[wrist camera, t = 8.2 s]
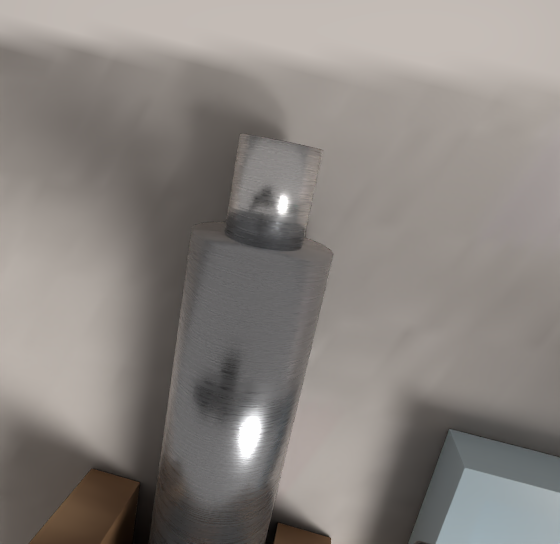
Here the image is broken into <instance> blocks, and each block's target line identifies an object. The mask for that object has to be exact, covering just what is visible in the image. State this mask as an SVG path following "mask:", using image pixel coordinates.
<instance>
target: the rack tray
mask: <svg viewBox="0 0 560 544" xmlns="http://www.w3.org/2000/svg"><path fill="white" fill-rule="evenodd" d="M416 541H423V542H427V543H430V544H560V457H557V456H553V455H549V454H545V453H541V452H537V451H533V450H529V449H526V448H522V447H518V446H514V445H510V444H506V443H502V442H498V441H494V440H491V439H487V438H483V437H479V436H475V435H471V434H467V433H463V432H460V431H456V430H452V429H449V431H448V434H447V437H446V440H445V442H444V445H443V448H442V451H441V453H440V456H439V459H438V462H437V465H436V467H435V470H434V473H433V476H432V478H431V481H430V484H429V487H428V489H427V492H426V495H425V498H424V501H423V503H422V506H421V509H420V512H419V514H418V517H417V520H416V523H415V526H414V528H413V531H412V534H411V537H410V539H409V542H408V544H414V543H415V542H416Z"/></svg>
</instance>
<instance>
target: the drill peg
mask: <svg viewBox="0 0 560 544" xmlns="http://www.w3.org/2000/svg"><path fill="white" fill-rule="evenodd" d="M322 153H323V150H321V149H317V148H313V147H309V146H304V145H300V144H295V143H291V142H286V141H281V140H276V139H271V138H266V137H260V136H255V135H249V134H243V133H240V137H239V143H238V150H237V156H236V162H235V169H234V175H233V181H232V187H231V194H230V200H229V206H228V212H227V219H226V222H205V223H199V224H196V225H194V226H193V227H192V230H191V237H190V244H189V252H188V259H187V266H186V274H185V281H184V288H183V295H182V303H181V310H180V317H179V325H178V332H177V339H176V347H175V354H174V361H173V369H172V376H171V383H170V391H169V398H168V405H167V413H166V420H165V427H164V434H163V442H162V449H161V456H160V464H159V471H158V478H157V486H156V493H155V500H154V508H153V515H152V522H151V530H150V537H149V544H265V541H266V537H267V532H268V528H269V524H270V520H271V516H272V511H273V507H274V503H275V499H276V494H277V490H278V486H279V482H280V478H281V473H282V469H283V465H284V461H285V457H286V452H287V448H288V444H289V440H290V435H291V431H292V427H293V423H294V419H295V414H296V410H297V406H298V402H299V397H300V393H301V389H302V385H303V381H304V376H305V372H306V368H307V364H308V359H309V355H310V351H311V347H312V343H313V338H314V334H315V330H316V326H317V322H318V317H319V313H320V309H321V305H322V300H323V296H324V292H325V288H326V284H327V279H328V275H329V271H330V267H331V262H332V258H333V252H332V251H331V250H330V249H329V248H327V247H326V246H324V245H322V244H320V243H318V242H316V241H313V240H311V239H308V238H305V232H306V227H307V223H308V218H309V213H310V209H311V204H312V199H313V195H314V190H315V185H316V181H317V176H318V171H319V167H320V162H321V157H322Z"/></svg>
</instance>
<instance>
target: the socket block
mask: <svg viewBox="0 0 560 544" xmlns="http://www.w3.org/2000/svg"><path fill="white" fill-rule="evenodd" d="M139 486H140V482H137V481H133V480H130V479H126V478H123V477H120V476H116V475H113V474H109V473H106V472H102V471H99V470H95V469H91V470H90V471H89V472H88V473H87V475H86V476H85V477H84V478H83V479H82V481H81V482H80V483H79V484H78V485H77V487H76V488H75V489H74V490H73V491H72V493H71V494H70V495H69V496H68V497H67V498H66V500H65V501H64V502H63V503H62V504H61V506H60V507H59V508H58V509H57V510H56V512H55V513H54V514H53V515H52V516H51V518H50V519H49V520H48V521H47V522H46V524H45V525H44V526H43V527H42V528H41V529H40V531H39V532H38V533H37V534H36V535H35V537H34V538H33V539H32V540H31V541H30V543H29V544H132V543H133V535H134V527H135V519H136V511H137V502H138V494H139ZM273 544H331V538H330V537H326V536H323V535H319V534H316V533H312V532H309V531H305V530H302V529H299V528H295V527H292V526H288V525H285V524H281V523H278V525H277V529H276V533H275V537H274V541H273Z"/></svg>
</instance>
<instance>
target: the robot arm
mask: <svg viewBox="0 0 560 544" xmlns="http://www.w3.org/2000/svg"><path fill="white" fill-rule="evenodd" d="M414 544H430V543H427V542H423V541H416V542H415V543H414Z"/></svg>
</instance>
